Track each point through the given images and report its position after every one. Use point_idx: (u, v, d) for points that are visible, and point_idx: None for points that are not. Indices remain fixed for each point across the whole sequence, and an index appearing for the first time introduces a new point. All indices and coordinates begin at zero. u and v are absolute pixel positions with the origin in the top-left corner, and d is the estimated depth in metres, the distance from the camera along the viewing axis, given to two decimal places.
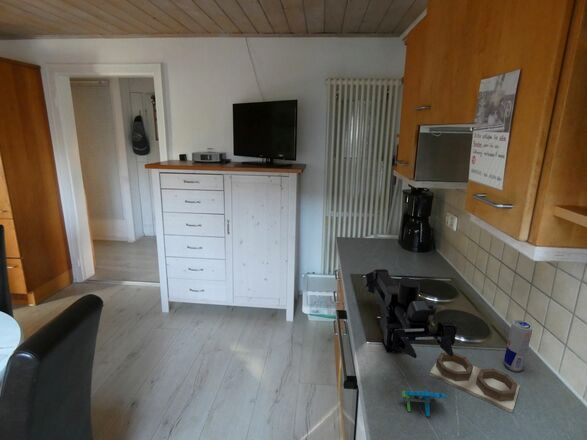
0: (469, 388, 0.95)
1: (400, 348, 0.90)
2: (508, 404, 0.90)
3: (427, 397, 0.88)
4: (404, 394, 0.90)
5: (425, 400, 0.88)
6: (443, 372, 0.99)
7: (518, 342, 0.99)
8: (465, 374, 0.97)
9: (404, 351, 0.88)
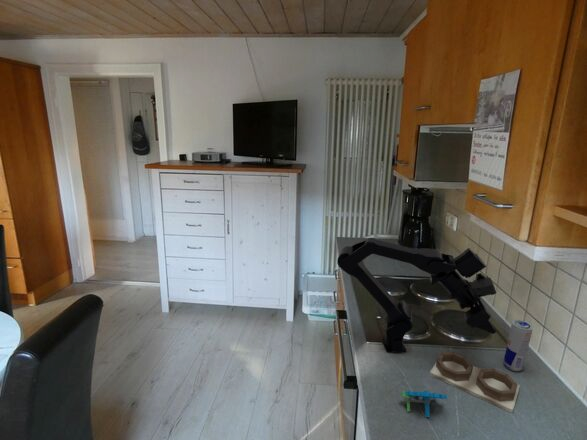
0: (469, 388, 0.95)
1: (478, 325, 0.97)
2: (508, 404, 0.90)
3: (427, 398, 0.88)
4: (404, 394, 0.90)
5: (425, 401, 0.88)
6: (443, 372, 0.99)
7: (518, 342, 0.99)
8: (465, 374, 0.97)
9: (482, 328, 0.97)
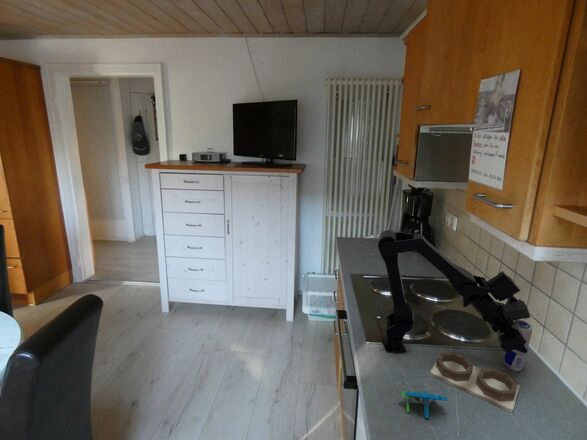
0: (469, 388, 0.95)
1: None
2: (508, 404, 0.90)
3: (427, 399, 0.88)
4: (403, 394, 0.90)
5: (424, 402, 0.88)
6: (443, 372, 0.99)
7: None
8: (465, 374, 0.97)
9: None
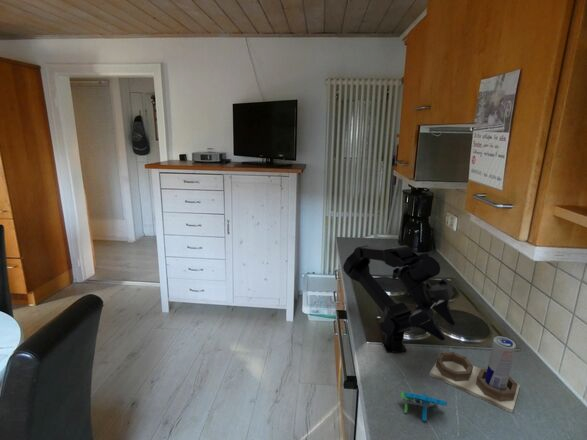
0: (469, 388, 0.95)
1: (424, 328, 0.96)
2: (508, 404, 0.90)
3: (425, 401, 0.87)
4: (402, 395, 0.90)
5: (423, 404, 0.87)
6: (443, 372, 0.99)
7: (495, 359, 0.91)
8: (465, 374, 0.97)
9: (429, 331, 0.96)
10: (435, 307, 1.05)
